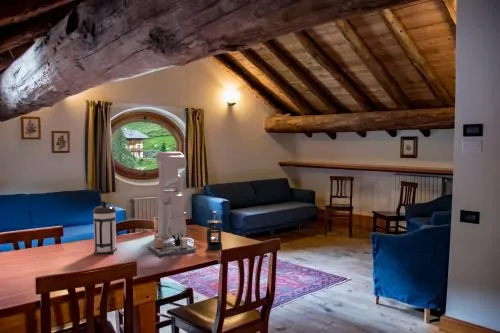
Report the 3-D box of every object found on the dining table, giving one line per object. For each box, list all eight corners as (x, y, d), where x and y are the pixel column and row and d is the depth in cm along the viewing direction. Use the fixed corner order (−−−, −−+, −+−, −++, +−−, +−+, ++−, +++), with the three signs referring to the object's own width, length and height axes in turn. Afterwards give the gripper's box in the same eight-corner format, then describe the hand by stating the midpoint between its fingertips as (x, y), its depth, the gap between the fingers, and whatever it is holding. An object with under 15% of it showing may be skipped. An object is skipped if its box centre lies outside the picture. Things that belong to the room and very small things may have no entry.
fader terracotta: (155, 246, 255) (155, 238, 255) (160, 245, 257) (160, 237, 256) (158, 248, 252) (158, 239, 251) (162, 247, 253) (162, 238, 253)
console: (147, 250, 257) (147, 245, 256) (181, 245, 269) (181, 240, 268) (160, 257, 240) (160, 252, 240) (195, 252, 252) (195, 247, 252)
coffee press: (85, 253, 250) (84, 202, 248) (110, 247, 262) (109, 199, 260) (100, 258, 238) (99, 205, 236) (125, 252, 250) (124, 202, 248)
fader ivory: (180, 246, 255) (179, 238, 255) (184, 246, 257) (184, 237, 256) (182, 248, 252) (182, 239, 251) (187, 247, 253) (187, 238, 253)
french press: (226, 248, 259) (226, 211, 258) (214, 251, 252) (214, 213, 251) (213, 245, 267) (213, 209, 266) (202, 248, 261) (201, 211, 259)
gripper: (186, 213, 258) (186, 242, 259) (162, 215, 250) (163, 246, 251) (191, 214, 252) (191, 245, 253) (167, 217, 244) (167, 249, 245)
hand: (177, 245), depth 252 cm, fingers closed
